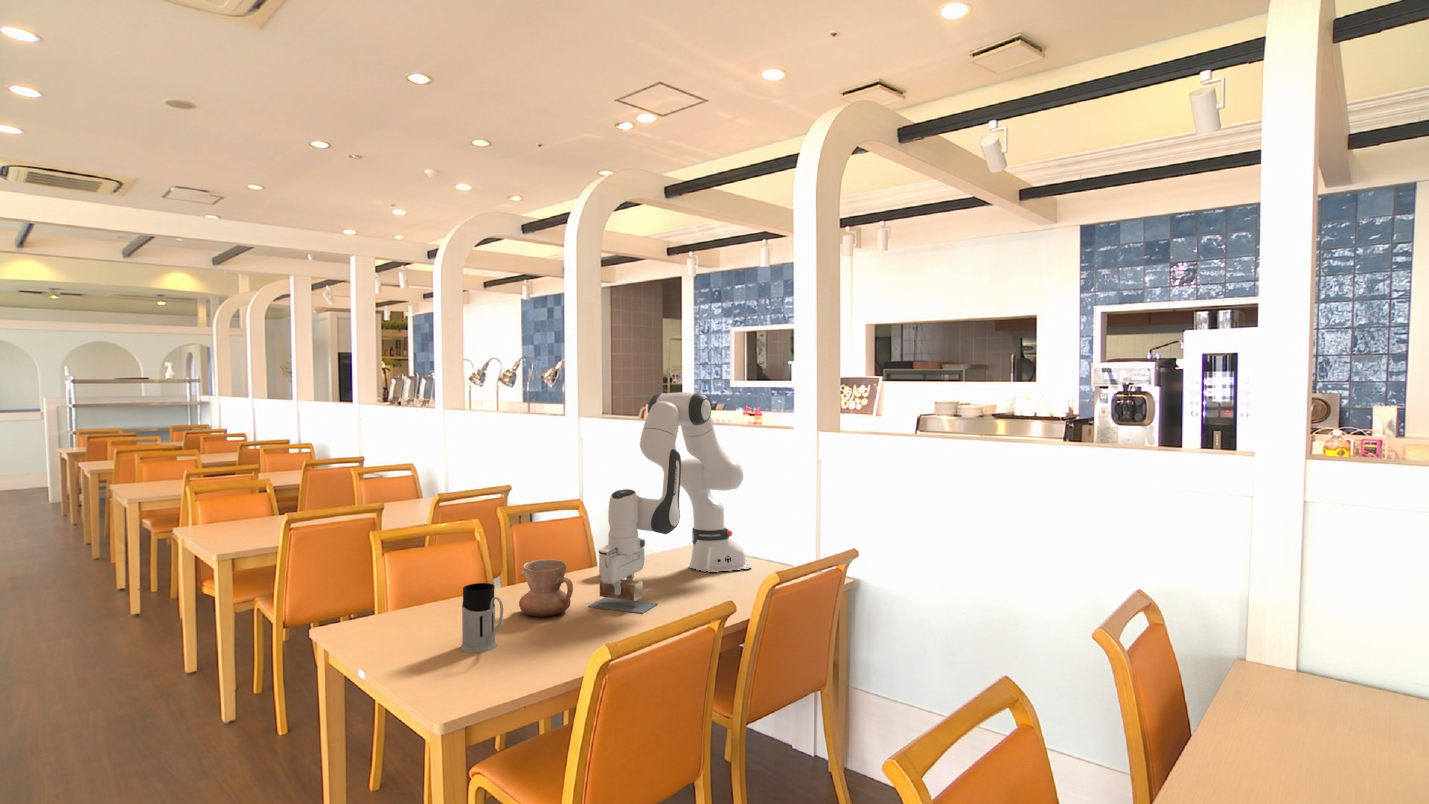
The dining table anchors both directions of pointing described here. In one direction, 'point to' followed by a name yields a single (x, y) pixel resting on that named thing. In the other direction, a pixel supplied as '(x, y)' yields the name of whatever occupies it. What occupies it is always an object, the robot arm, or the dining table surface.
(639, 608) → the rubber mat
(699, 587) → the dining table surface
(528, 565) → the ceramic jug
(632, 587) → the walnut block
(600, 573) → the teacup with lid
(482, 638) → the glass holder
